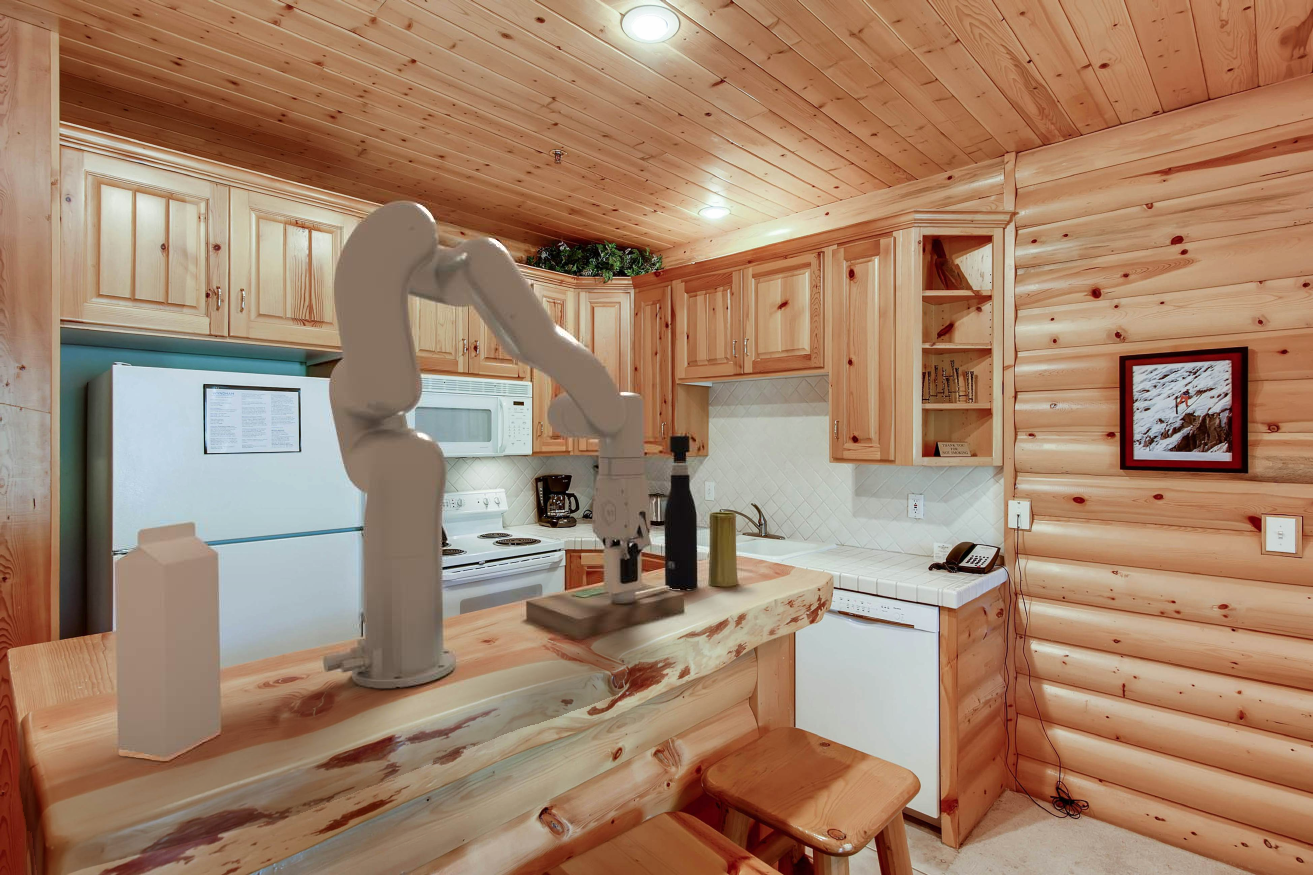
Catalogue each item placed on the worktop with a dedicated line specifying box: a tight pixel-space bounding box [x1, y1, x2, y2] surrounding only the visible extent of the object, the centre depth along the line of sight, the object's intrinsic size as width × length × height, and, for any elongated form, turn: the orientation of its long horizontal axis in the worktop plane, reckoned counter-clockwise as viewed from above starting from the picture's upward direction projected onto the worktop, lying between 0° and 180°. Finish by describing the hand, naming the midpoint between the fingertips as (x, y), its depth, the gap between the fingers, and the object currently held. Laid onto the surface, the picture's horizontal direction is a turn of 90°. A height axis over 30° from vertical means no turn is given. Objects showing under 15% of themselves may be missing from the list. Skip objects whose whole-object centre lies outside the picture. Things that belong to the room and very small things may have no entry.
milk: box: [114, 521, 222, 758], centre depth 65 cm, size 6×6×22 cm
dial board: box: [525, 582, 685, 640], centre depth 111 cm, size 22×15×3 cm
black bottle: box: [663, 435, 698, 591], centre depth 130 cm, size 6×6×30 cm
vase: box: [707, 511, 739, 588], centre depth 132 cm, size 6×6×14 cm
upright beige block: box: [603, 543, 670, 604], centre depth 110 cm, size 13×4×9 cm, turn 132°
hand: (623, 579), depth 107 cm, fingers closed on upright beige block, 2 cm apart
